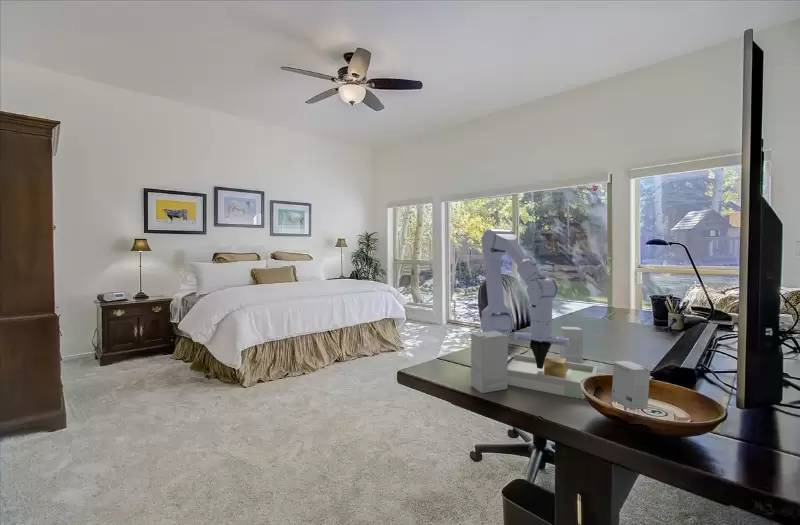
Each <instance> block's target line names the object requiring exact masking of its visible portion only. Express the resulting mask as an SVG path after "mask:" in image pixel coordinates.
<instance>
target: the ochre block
mask: <svg viewBox="0 0 800 525" xmlns="http://www.w3.org/2000/svg"><path fill="white" fill-rule="evenodd" d="M545 358H546V359H545V360H544V375H549V376H555V377H561V378H564V376H565V374H566V359H563V358H560V357H556V356H549V355H546V357H545Z"/></svg>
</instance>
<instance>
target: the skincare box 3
mask: <svg viewBox="0 0 800 525" xmlns="http://www.w3.org/2000/svg"><path fill="white" fill-rule="evenodd" d="M650 376H651V369H650V368H647V367H645V366H643V365H640V364H638V363H635V362H633V361H630V360H622V361H621V360H619V361H613V369H612V384H611V385H612V386H611V399H610V400H612V401H615V402H617V403H618V404H621V405H623V406H625V407H627V408H629V409H630V410H635V409H647V410H648V404H649V393H650V392H649V388H650Z"/></svg>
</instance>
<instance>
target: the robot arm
mask: <svg viewBox="0 0 800 525" xmlns="http://www.w3.org/2000/svg"><path fill="white" fill-rule="evenodd" d="M481 248H482V255H483V259H484V271H485V272H484V273H485V281H486V282H485V283H486V285H485V286H486V295H487V306H486V307H485V308H483V309H482V310H481V318H480V328H481V330H482V332H488V331H498V332H500V333H503V334H506V335H508V336H509V335H510V334H511V332H512V330H514V326H515V323H514V319H513V315H512V311H511V309H510V308H509V307H508V306H507V305H505V298H504V287H503V286H504V285H503V277H502V265H501V258H502V257H503V256H505V255H506V254H508V256H509V257H510V258H511V260H513V262H514V263H515V264H516V265H517V267H516V272H517V273H518V275H519V276H520V277H521V279H522V280H523V282H524V283H525V285H526V286H527V287H526V293H527V296H528V298H529V299H528V300H529V301H528V303H529V304H530V329H529V330H530V332H520V331H519V332H518V331H516V332H514V333H513V336H514V337H513V340H514V341H519V340H520V341H526V342H530V343H529V348H530V349H531V351H532V354H533V357H535V360H536V364H537V368H540V369H542V368H543V365H544V360H545V358H547V356H548V352H549V350H550V348H551V346H552V345H558V346H560V345H563V346H566V347H568V346H569V338H562V337H560V336H558V335H557V336H556V335H552V334H553V333H552V332H553V331H552V330H553V329H552V328H553V300H554V298H555V297H556V296H557V294H558V290H559V289H558V285H557V282H556V280H555V279H554V278H551V277H548V276H547V275H545V273H544V272H543V271H542V270H541V268H540V267H539V266H538V263H537V261H536V260H534V259H531V258H530V259H529V258H528V257H527V255H526V254H525V252H524V250H522V248H521V246H520V244H519V243H518V235H516V232H515V231H514V230H512V229H492V228H488V229H486V230H485V231H484V232H483V234H482V236H481ZM511 359H512V357H511V356H508V362H509V361H510V360H511Z"/></svg>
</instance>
